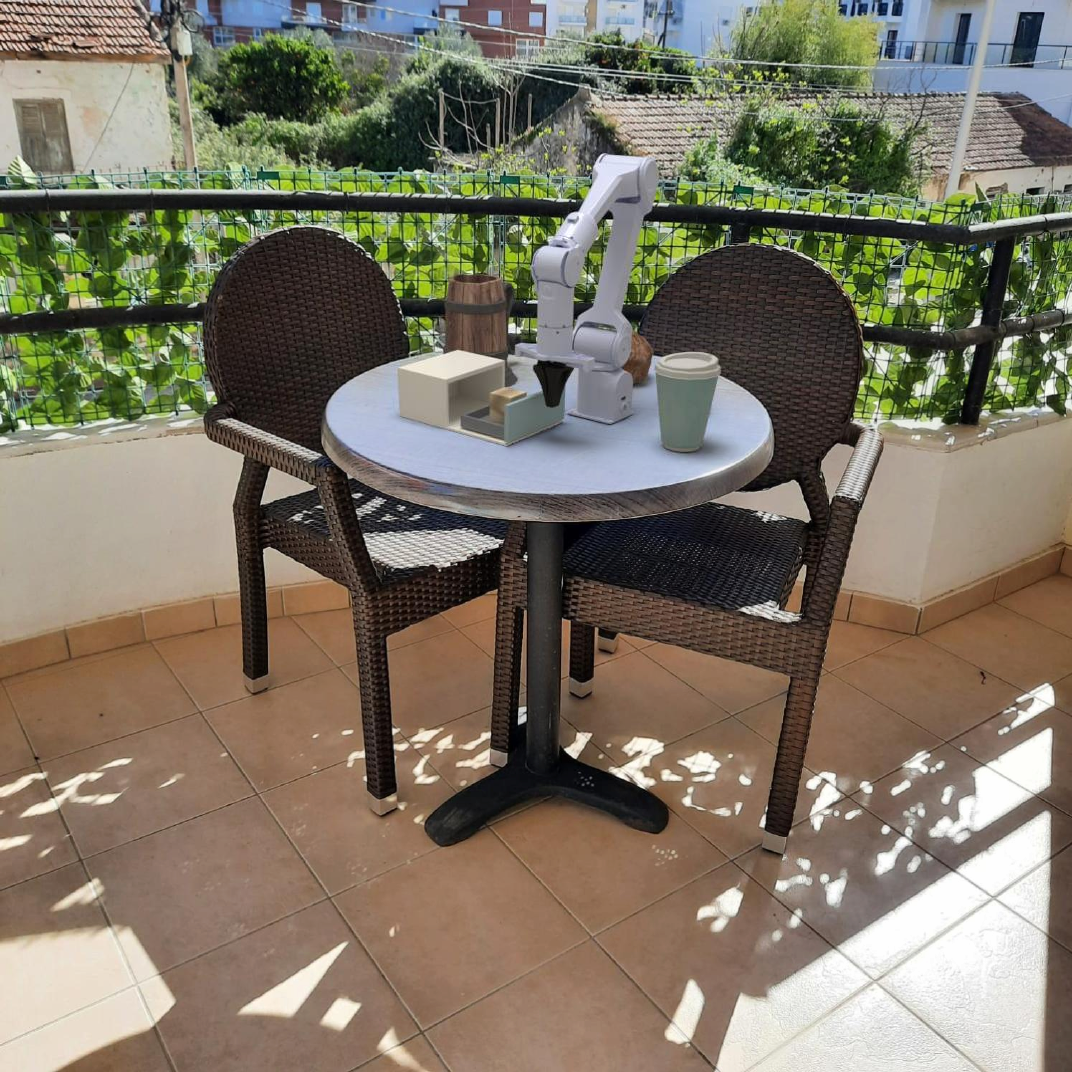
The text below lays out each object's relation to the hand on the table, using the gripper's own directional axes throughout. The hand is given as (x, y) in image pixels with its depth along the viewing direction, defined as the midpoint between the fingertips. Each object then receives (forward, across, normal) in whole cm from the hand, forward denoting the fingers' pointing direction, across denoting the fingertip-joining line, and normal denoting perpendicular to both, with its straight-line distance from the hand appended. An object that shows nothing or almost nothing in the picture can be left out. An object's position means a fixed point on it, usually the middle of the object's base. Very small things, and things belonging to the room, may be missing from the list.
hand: (552, 405), depth 160 cm
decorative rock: (+6, -9, +38) cm, 40 cm away
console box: (+6, -15, 0) cm, 17 cm away
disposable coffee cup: (+6, +19, +11) cm, 22 cm away
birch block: (+4, -9, 0) cm, 10 cm away
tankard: (+6, -32, +22) cm, 40 cm away
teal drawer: (+6, -9, 0) cm, 11 cm away
